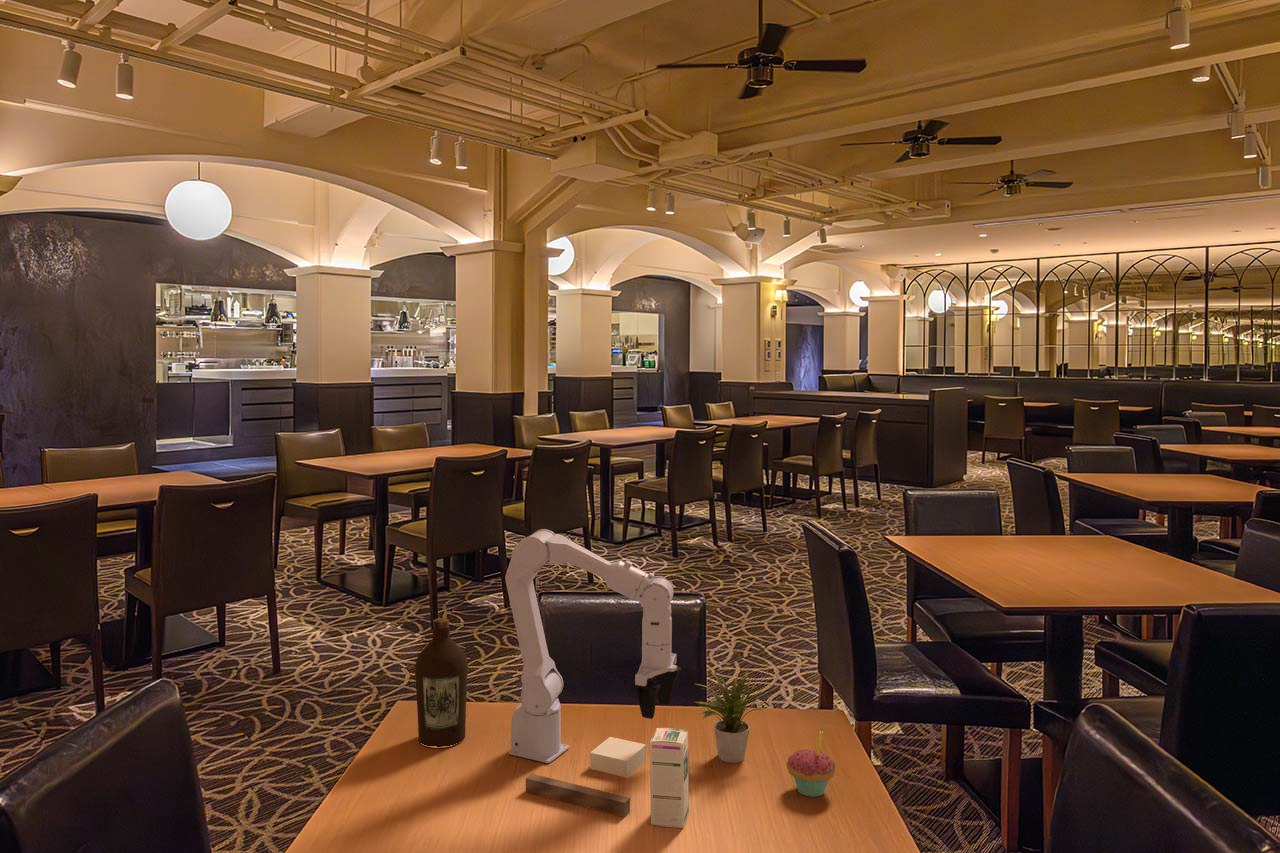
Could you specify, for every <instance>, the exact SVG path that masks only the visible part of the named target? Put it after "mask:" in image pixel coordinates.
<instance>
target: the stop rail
mask: <svg viewBox="0 0 1280 853" xmlns="http://www.w3.org/2000/svg"><path fill="white" fill-rule="evenodd" d="M525 793H529V794H532V795H536V796H541V797H545V798H548V799H552V800H556V801H558V802H559V801H560V802H564V803H568V804H571V805H575V806H580V807H584V808H588V809H591V810H595V811H599V812H603V813H607V814H610V815H614V816H620V817H622V818H626V816H628V815H629V814H630V812H631V797H629V796H625V795H621V794H616V793H612V792H609V791H603V790H600V789H596V788H592V787H589V786H585V785H580V784H576V783H571V782H569V781H563V780H559V779H557V778H556V779H555V778H552V777H551V778H550V777H547V776H542V775H539V774H534V773H531V774H530V775H528V776H526V778H525Z"/></svg>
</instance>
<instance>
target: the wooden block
mask: <svg viewBox="0 0 1280 853" xmlns="http://www.w3.org/2000/svg"><path fill="white" fill-rule="evenodd" d="M589 753H590V754H589V769H590V770H593V771H598V772H600V773H601V772H602V773H606V774H611V775H614V776H619V777H622V778H626V779H627V778H629V777H630V776H631V775H632V774H634V772H635V771H637V769H639V767H641V766H642V765H643V764H644V763H645V762H646V761H647V744H645V743H640V742H635V741H630V740H627V739H623V738H617V737H613V736H609V737H608V738H606V739H605V740H604V741H603V742H602V743H600V744H599V745H598V746H596V747H594V749H593V750H592V751H590V752H589Z"/></svg>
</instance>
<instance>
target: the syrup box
mask: <svg viewBox="0 0 1280 853" xmlns="http://www.w3.org/2000/svg"><path fill="white" fill-rule="evenodd" d="M649 762H650V763H649V768H650V769H649V776H650V777H649V780H650V783H649V785H650V786H649V787H650V824H651V825H652V826H658V827H665V828H675V829H684V828H685V824H686V821H687V819H688V815H689V812H690V790H689V789H690V788H689V787H690V782H689V781H690V778H689V777H690V776H689V774H690V771H689V768H690V767H689V764H690V762H689V731H688V730H686V729H683V728H675V727H673V728H672V727H656V728H655V731H654V733H653V735H652V736H651V739H650V741H649Z"/></svg>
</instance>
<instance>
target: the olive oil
mask: <svg viewBox="0 0 1280 853" xmlns="http://www.w3.org/2000/svg"><path fill="white" fill-rule="evenodd" d="M432 624H433V626H432V639H431V640H430V641H429V642H428V643H427V645H426V646H425V647H424V648H422V650H421V651H420V652H419V654H418V655H417V658H416V660H415V665H414V677H415V678H414V679H415V693H416V695H415V696H416V707H417V708H416V710H417V730H418V734H417V735H418V742H420V743H422V744H424V745H427V746H437V747H441V746H442V747H443V746H450V745H454V744H456V743H459V742H461V741H462V740H463V739H464V738H465V739H466V727H467V726H466V723H467V721H466V719H467V718H466V717H467V716H466V715H467V713H466V712H467V693H468V692H467V691H468V670H469V667H468V666H469V664H468V658H467V656H466V653H465V652H464V650H463V649H462V648H461V647H460V646H459V645H458V644H457V643H456V642H455V641H454V640H453V639H452V638H451V637H450V620H449V619H448V618H446V617H440V618H435V619H434V620H433V621H432ZM465 739H464V740H465ZM464 740H463V741H464ZM463 741H462V742H463ZM462 742H461V743H462ZM420 743H419V744H420ZM459 744H460V743H459Z"/></svg>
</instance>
